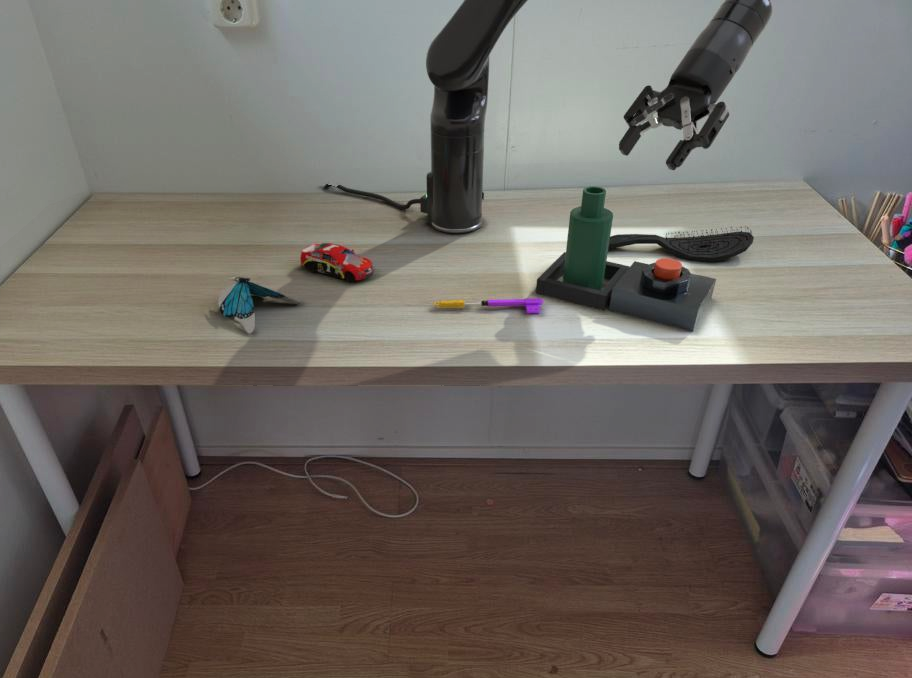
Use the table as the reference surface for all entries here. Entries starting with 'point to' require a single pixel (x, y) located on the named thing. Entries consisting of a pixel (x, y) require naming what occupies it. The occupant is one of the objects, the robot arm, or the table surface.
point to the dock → (576, 293)
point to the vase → (588, 240)
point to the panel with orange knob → (662, 296)
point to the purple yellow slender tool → (499, 303)
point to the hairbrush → (693, 244)
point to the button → (667, 268)
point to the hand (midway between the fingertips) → (645, 159)
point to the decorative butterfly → (245, 300)
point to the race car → (336, 261)
